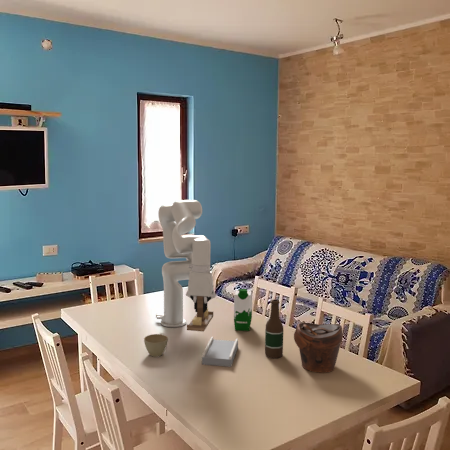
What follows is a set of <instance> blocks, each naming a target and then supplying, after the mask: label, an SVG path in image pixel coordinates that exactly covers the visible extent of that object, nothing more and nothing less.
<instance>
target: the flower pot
mask: <svg viewBox="0 0 450 450" xmlns="http://www.w3.org/2000/svg"><path fill="white" fill-rule="evenodd" d="M168 340H169V338H168V336H167V335H165V334H160V333H154V334H152V333H151V334H148V335H146V336H145V337H144V338H143V342H144V347H145V348H146V349H145V350H146V352H147V353H148V354H149V356H151V357H153V358H155V357H156V358H158V357H161V356H162V355H163V354H164V352H165V350H166V348H167V345H168Z"/></svg>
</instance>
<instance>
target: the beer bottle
mask: <svg viewBox="0 0 450 450" xmlns="http://www.w3.org/2000/svg"><path fill="white" fill-rule="evenodd" d="M270 305H271V307H270V315H269V318H268V320H267V321H266V324H265V331H264V333H265V334H264V337H265V338H264V353H265V357H268V358H270V359H280V358H281V357H283V355H284V354H283V353H284V325H283V322H282V320H281V317H280V300H279V299H272V300H271V301H270Z"/></svg>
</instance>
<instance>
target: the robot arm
mask: <svg viewBox="0 0 450 450" xmlns="http://www.w3.org/2000/svg"><path fill="white" fill-rule="evenodd" d="M202 215H203V207H202V204H201V202H200V201H198V200H196V199H192V200H191V199H184V200H183V199H181V200H175V201H174V202H173V203H172V204H171V203H170V204H164V205H161V206H160V207H159V208H158V220H159V223H160V227H161V229H162V238H163V239H162V241H163V253H164V256H165V257H166V258H167V259H186V260H173V261H168V262H165V263H164V264H163V265H162V267H161V275H162V280H163V313H162V314H161V313H156V314H155V318H156V320H160V325H161V326H163V327H167V328H180V327H184V326H185V325H187V320H186V319H185V318H184V288H183V286H182V285H181V284H180V283H179V281H185V280H186V281H187V280H188V281H187V283H188V285H187V291H186V293H185V296H187V297H188V298H190V299H191V300H192V302H193V303H194V305H193V309H194V310H195V311H194V312H195V313H197V296H202V297H204V303H203V313H205V312H206V310H207V308H208V302H209V301H211V300H212V299H215V298H216V297H217V294H216V292H215V289H214V279H213V278H214V276H213V272H212V270H211V245H212V244H211V240H210V239H208V238H207V236H205V235H203V234H199V235H185V234H188V233H190V232H191V231H192V230H193V229H194V228H195V227H196V225H197V221H196V220H198V219H199V218H201V216H202Z"/></svg>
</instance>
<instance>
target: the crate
mask: <svg viewBox="0 0 450 450" xmlns="http://www.w3.org/2000/svg"><path fill="white" fill-rule="evenodd" d="M192 320H193V325H201V320H202V317H195V316H194V317H193V318H192Z"/></svg>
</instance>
